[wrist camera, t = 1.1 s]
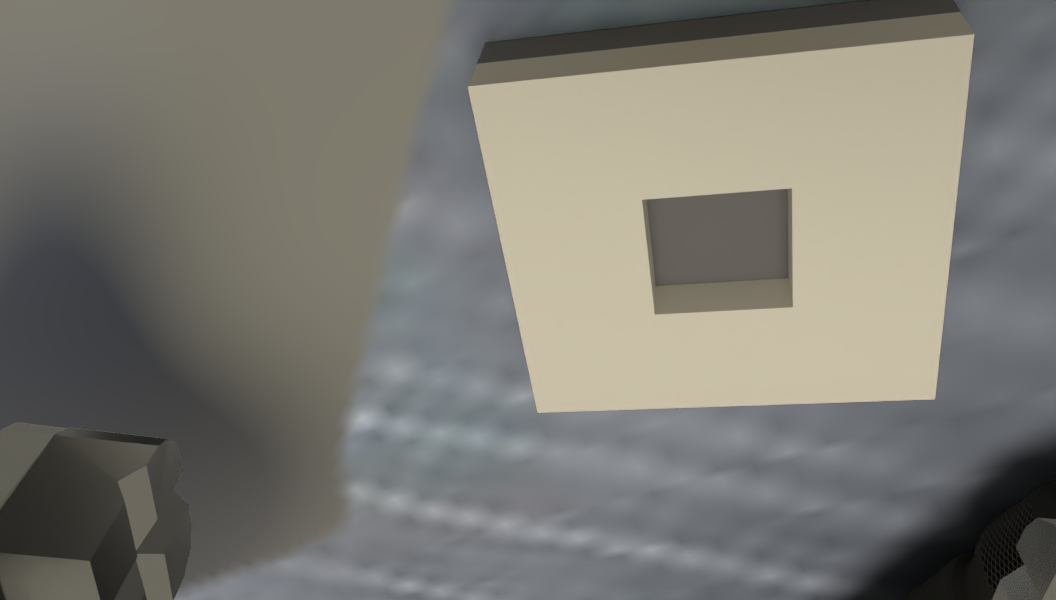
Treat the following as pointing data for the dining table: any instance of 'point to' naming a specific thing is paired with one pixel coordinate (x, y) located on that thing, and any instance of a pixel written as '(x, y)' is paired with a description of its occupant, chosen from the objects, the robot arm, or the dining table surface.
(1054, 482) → the muzzle brake
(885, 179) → the socket block
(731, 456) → the dining table surface
